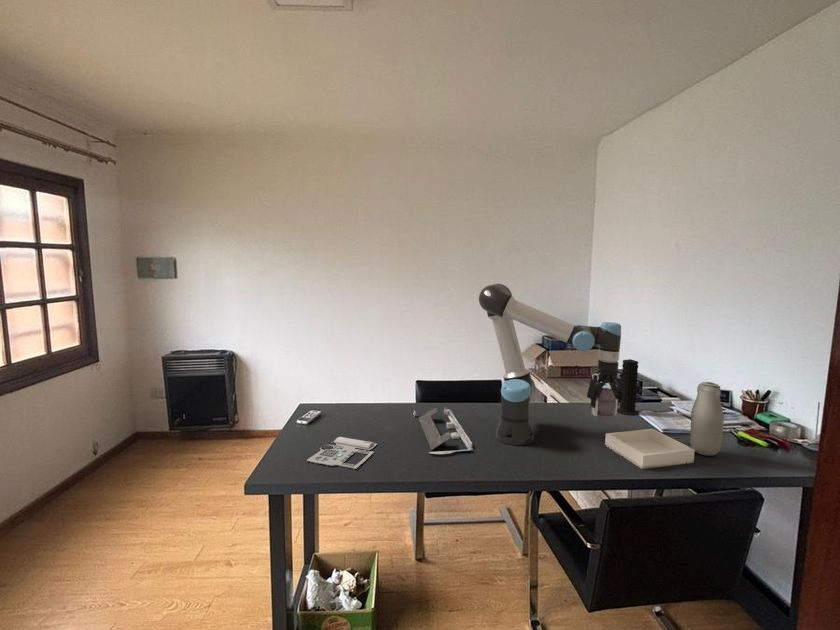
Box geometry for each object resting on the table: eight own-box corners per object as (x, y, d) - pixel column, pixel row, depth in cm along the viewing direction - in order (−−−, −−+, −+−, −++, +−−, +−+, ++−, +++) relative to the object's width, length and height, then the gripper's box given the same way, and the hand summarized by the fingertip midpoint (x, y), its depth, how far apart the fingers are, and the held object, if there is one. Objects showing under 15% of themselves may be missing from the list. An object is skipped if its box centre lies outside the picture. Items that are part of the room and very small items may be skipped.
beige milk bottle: (711, 449, 163) (718, 379, 160) (725, 461, 153) (732, 387, 150) (683, 447, 165) (689, 378, 162) (695, 458, 155) (701, 385, 152)
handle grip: (614, 407, 211) (617, 414, 201) (617, 356, 208) (620, 360, 198) (636, 409, 208) (640, 416, 199) (639, 357, 205) (644, 362, 195)
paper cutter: (450, 414, 202) (450, 403, 202) (476, 455, 158) (476, 441, 158) (413, 416, 200) (413, 404, 199) (429, 458, 156) (429, 444, 155)
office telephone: (339, 433, 173) (383, 440, 166) (339, 439, 173) (383, 446, 166) (305, 456, 151) (354, 466, 144) (306, 463, 152) (354, 473, 145)
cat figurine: (601, 411, 178) (604, 384, 176) (618, 417, 171) (621, 389, 170) (588, 414, 173) (591, 386, 172) (605, 421, 167) (608, 392, 165)
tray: (642, 469, 147) (643, 455, 147) (605, 445, 167) (605, 433, 166) (693, 462, 152) (694, 449, 152) (651, 440, 172) (652, 428, 171)
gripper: (591, 363, 163) (586, 419, 166) (637, 361, 168) (632, 415, 171) (579, 359, 171) (575, 412, 173) (624, 357, 175) (619, 409, 178)
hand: (603, 414), depth 172 cm, fingers closed on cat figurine, 8 cm apart
